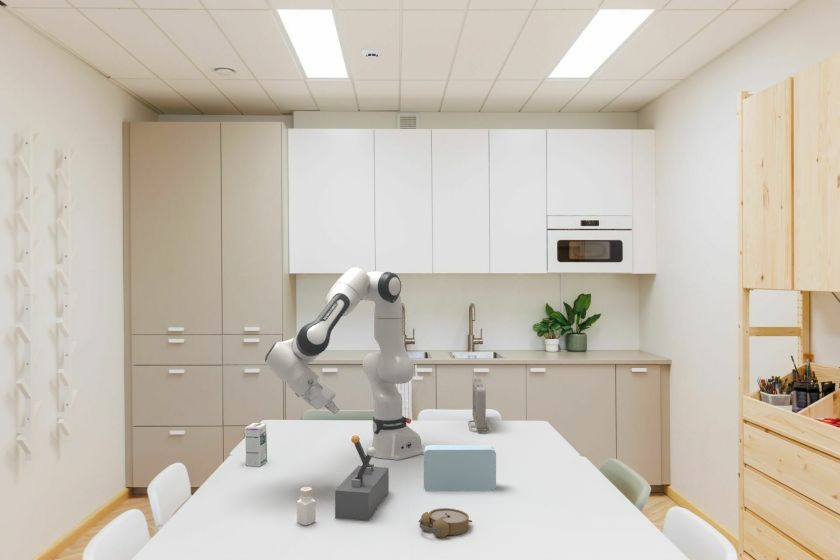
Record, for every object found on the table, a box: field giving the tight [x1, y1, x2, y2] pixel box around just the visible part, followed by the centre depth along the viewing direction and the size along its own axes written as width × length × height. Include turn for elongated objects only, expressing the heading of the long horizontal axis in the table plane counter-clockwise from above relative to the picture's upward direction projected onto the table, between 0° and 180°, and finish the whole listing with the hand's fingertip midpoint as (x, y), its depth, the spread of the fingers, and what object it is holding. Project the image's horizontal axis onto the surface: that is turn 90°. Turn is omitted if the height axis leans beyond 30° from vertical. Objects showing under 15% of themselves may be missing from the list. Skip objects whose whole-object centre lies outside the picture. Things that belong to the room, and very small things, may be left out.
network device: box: [467, 378, 490, 433], centre depth 267 cm, size 26×9×20 cm, turn 179°
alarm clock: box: [418, 507, 473, 539], centre depth 160 cm, size 11×5×15 cm
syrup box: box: [244, 422, 268, 468], centre depth 215 cm, size 6×6×14 cm
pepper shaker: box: [296, 486, 317, 526], centre depth 165 cm, size 4×4×10 cm
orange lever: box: [351, 434, 371, 467], centre depth 183 cm, size 3×3×12 cm
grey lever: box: [356, 446, 376, 481], centre depth 171 cm, size 3×3×12 cm
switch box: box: [334, 463, 390, 522], centre depth 177 cm, size 10×22×10 cm, turn 168°
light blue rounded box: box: [423, 444, 497, 492], centre depth 191 cm, size 23×6×13 cm, turn 90°
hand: (337, 412), depth 190 cm, fingers closed
